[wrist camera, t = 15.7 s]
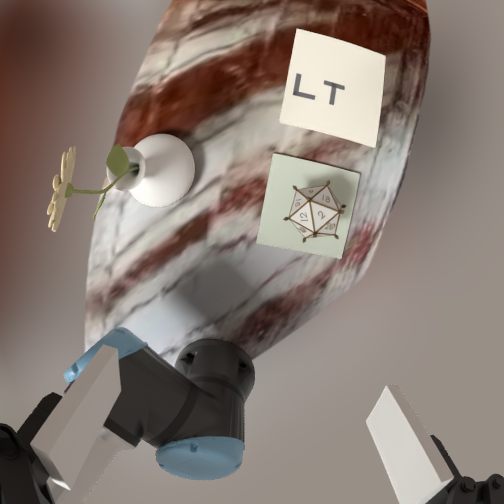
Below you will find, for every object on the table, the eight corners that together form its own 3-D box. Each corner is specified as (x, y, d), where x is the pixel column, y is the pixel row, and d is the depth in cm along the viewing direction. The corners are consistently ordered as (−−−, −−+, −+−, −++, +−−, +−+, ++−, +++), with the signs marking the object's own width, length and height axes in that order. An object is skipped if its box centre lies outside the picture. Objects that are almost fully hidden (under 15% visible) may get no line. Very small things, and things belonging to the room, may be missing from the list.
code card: (374, 148, 41) (375, 147, 41) (278, 122, 40) (279, 122, 40) (385, 56, 37) (385, 56, 36) (296, 29, 36) (296, 28, 36)
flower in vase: (160, 121, 40) (71, 73, 16) (212, 165, 42) (162, 151, 18) (111, 184, 42) (1, 198, 18) (159, 228, 44) (72, 282, 20)
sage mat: (340, 258, 46) (341, 259, 45) (256, 242, 45) (256, 243, 44) (358, 174, 42) (360, 174, 42) (273, 153, 41) (273, 153, 41)
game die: (315, 200, 46) (367, 197, 38) (302, 248, 45) (355, 254, 37) (278, 174, 41) (332, 165, 33) (261, 228, 40) (316, 230, 32)
